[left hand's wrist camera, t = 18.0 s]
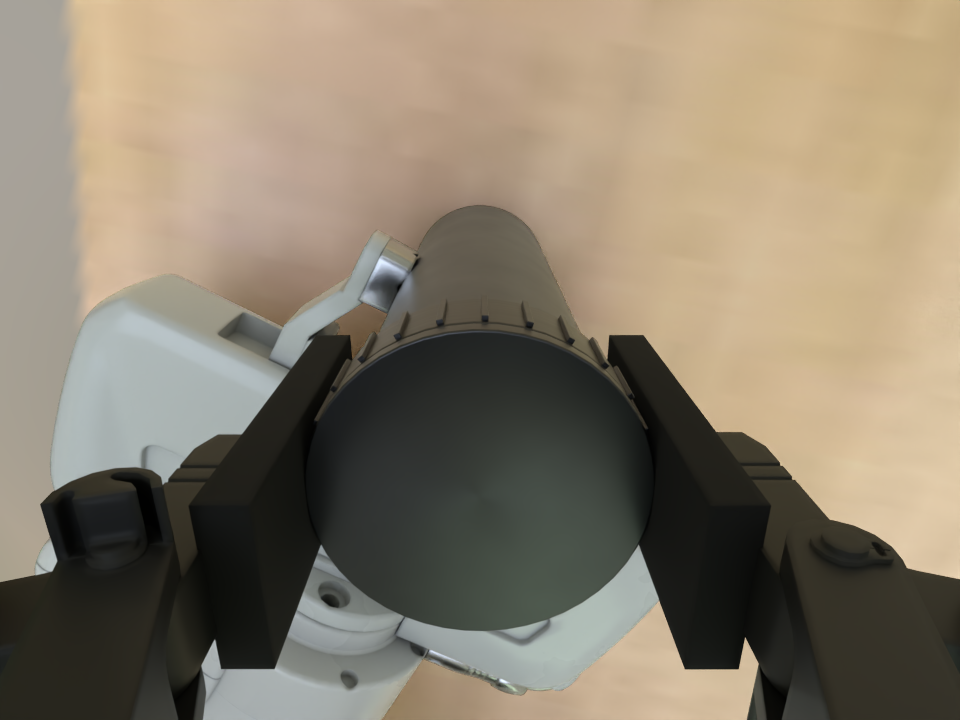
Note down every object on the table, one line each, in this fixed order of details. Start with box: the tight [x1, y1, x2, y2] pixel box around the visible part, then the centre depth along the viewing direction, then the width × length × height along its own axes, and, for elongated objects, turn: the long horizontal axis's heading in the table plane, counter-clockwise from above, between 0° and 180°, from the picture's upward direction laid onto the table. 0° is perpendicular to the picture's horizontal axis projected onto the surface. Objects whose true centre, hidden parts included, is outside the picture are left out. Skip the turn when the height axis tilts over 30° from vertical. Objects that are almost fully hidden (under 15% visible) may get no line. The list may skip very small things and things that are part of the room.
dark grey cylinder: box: [380, 206, 580, 332], centre depth 18 cm, size 5×5×16 cm
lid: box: [304, 295, 655, 631], centre depth 11 cm, size 6×6×2 cm
